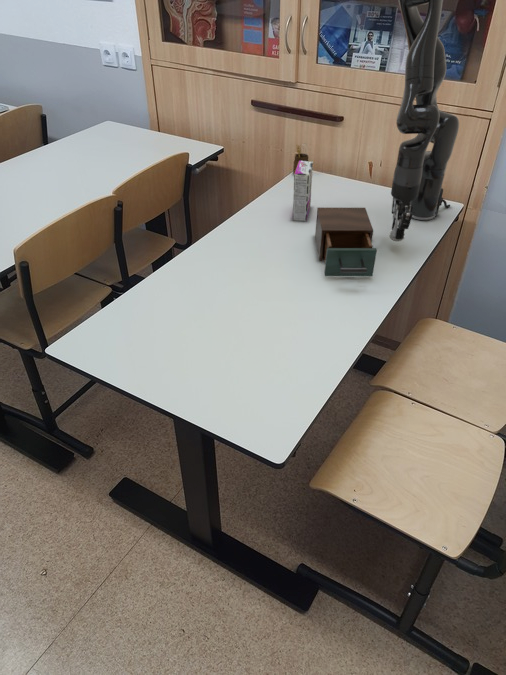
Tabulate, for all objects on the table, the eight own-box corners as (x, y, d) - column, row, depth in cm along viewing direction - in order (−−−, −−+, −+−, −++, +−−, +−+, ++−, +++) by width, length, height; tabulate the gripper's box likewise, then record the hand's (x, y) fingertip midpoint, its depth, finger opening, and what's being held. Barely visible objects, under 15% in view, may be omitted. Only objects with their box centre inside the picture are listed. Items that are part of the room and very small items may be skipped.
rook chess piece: (387, 235, 162) (391, 210, 157) (401, 234, 163) (405, 209, 158) (391, 242, 159) (395, 217, 154) (406, 241, 159) (410, 216, 154)
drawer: (376, 287, 145) (380, 261, 140) (326, 287, 145) (329, 261, 140) (364, 251, 160) (368, 226, 155) (320, 251, 160) (322, 226, 155)
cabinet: (368, 261, 158) (373, 230, 151) (319, 261, 158) (321, 230, 151) (361, 237, 169) (365, 207, 163) (314, 237, 169) (317, 207, 163)
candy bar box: (296, 206, 186) (298, 159, 176) (310, 207, 185) (313, 161, 175) (291, 220, 178) (293, 173, 167) (306, 222, 177) (309, 174, 166)
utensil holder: (310, 172, 209) (313, 141, 202) (303, 177, 205) (305, 146, 198) (297, 169, 212) (299, 138, 204) (289, 174, 208) (291, 143, 200)
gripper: (388, 170, 155) (379, 223, 165) (399, 191, 144) (389, 247, 154) (413, 169, 155) (403, 223, 166) (427, 190, 144) (415, 246, 155)
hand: (397, 234), depth 160 cm, fingers closed on rook chess piece, 4 cm apart
